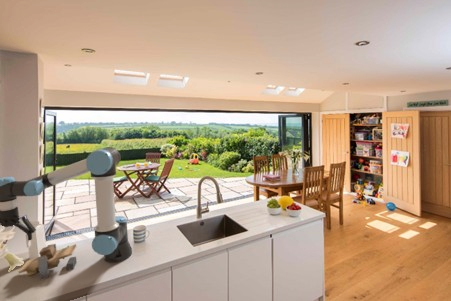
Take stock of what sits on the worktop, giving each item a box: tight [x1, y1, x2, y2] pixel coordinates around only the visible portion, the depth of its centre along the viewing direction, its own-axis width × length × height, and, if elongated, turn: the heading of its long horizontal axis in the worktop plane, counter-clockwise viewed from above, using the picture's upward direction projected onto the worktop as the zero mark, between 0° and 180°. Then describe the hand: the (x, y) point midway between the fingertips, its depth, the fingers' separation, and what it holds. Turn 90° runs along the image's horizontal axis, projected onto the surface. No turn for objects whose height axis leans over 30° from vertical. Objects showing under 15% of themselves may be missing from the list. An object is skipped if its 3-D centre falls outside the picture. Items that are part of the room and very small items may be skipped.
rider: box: [39, 244, 57, 259], centre depth 131 cm, size 5×5×5 cm
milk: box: [27, 220, 47, 260], centre depth 145 cm, size 6×6×22 cm
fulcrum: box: [38, 243, 58, 280], centre depth 132 cm, size 4×15×11 cm, turn 19°
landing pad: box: [66, 256, 77, 271], centre depth 136 cm, size 3×7×4 cm, turn 18°
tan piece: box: [18, 243, 77, 277], centre depth 132 cm, size 24×11×9 cm, turn 107°
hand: (12, 248), depth 126 cm, fingers open, 13 cm apart
